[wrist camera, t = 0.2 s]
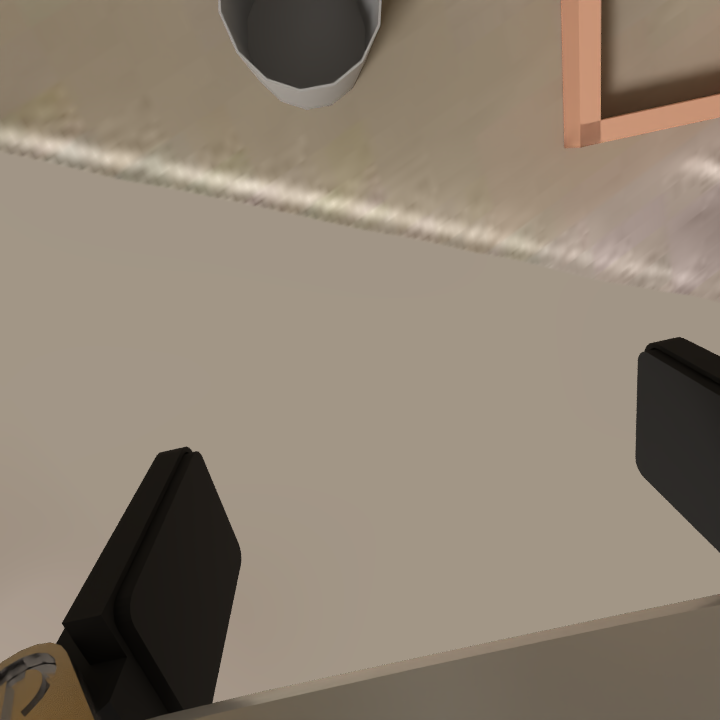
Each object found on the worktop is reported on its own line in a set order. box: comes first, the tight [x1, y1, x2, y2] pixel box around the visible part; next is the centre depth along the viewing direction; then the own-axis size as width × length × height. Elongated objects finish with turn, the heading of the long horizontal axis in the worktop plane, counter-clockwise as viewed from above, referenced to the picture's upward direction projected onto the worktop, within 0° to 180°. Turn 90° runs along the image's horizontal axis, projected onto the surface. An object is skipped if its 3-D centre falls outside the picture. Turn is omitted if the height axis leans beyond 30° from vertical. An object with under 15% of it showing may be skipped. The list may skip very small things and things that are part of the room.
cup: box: [218, 0, 382, 110], centre depth 29 cm, size 8×8×10 cm
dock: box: [561, 0, 720, 148], centre depth 33 cm, size 16×16×2 cm
